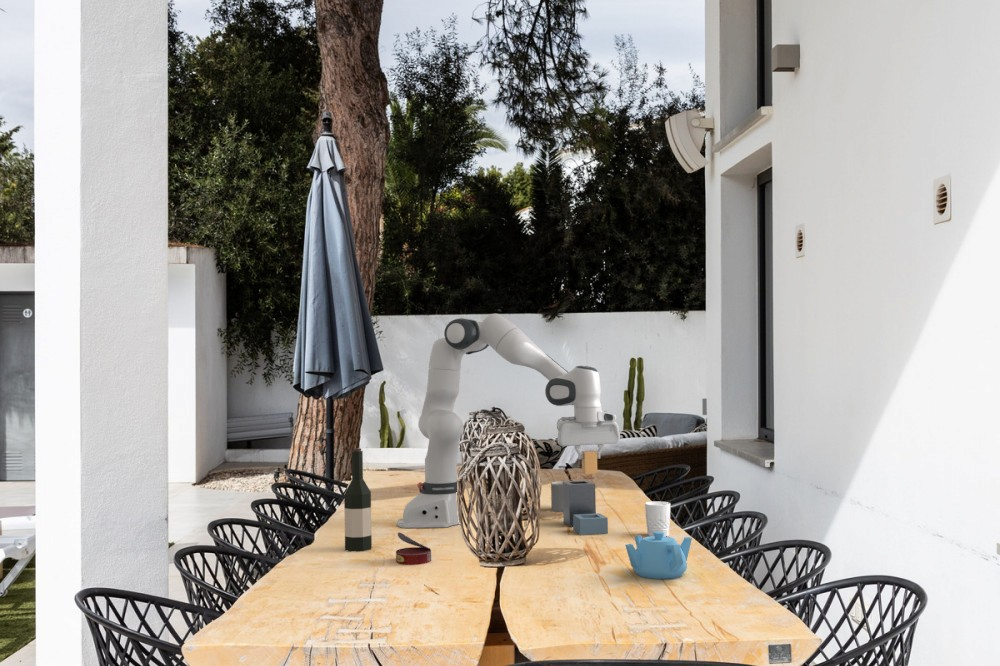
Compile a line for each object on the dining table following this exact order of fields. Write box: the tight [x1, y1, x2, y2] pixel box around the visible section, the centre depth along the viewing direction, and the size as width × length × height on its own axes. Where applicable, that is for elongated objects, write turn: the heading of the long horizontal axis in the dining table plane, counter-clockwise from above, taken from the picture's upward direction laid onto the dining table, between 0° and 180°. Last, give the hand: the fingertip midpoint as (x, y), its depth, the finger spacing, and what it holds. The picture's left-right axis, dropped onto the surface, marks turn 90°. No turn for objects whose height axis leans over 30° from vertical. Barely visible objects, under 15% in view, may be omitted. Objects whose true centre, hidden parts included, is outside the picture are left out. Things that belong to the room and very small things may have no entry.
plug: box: [581, 450, 599, 475], centre depth 299 cm, size 4×4×7 cm
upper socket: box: [562, 480, 597, 528], centre depth 312 cm, size 9×9×14 cm
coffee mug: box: [550, 480, 564, 513], centre depth 342 cm, size 13×10×10 cm
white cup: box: [644, 500, 671, 537], centre depth 290 cm, size 8×8×10 cm
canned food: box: [395, 532, 432, 566], centre depth 260 cm, size 11×10×10 cm
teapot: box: [625, 532, 693, 580], centre depth 239 cm, size 15×15×11 cm
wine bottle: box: [343, 447, 373, 552], centre depth 278 cm, size 8×8×30 cm
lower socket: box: [572, 512, 609, 536], centre depth 298 cm, size 9×9×5 cm
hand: (589, 458), depth 299 cm, fingers closed on plug, 4 cm apart
